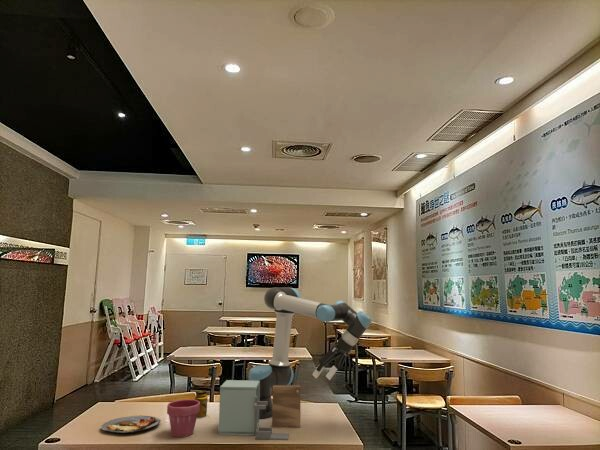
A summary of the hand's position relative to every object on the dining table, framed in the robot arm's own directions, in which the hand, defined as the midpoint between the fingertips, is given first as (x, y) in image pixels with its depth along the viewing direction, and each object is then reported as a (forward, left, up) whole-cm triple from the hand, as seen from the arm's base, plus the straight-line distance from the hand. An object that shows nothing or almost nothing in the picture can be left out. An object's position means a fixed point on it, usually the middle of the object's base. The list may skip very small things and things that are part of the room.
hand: (321, 377), depth 199 cm
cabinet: (+10, -30, -22) cm, 38 cm away
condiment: (-12, -61, -22) cm, 66 cm away
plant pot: (+14, -61, -22) cm, 67 cm away
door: (+1, -16, -22) cm, 27 cm away
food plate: (+7, -87, -23) cm, 90 cm away
